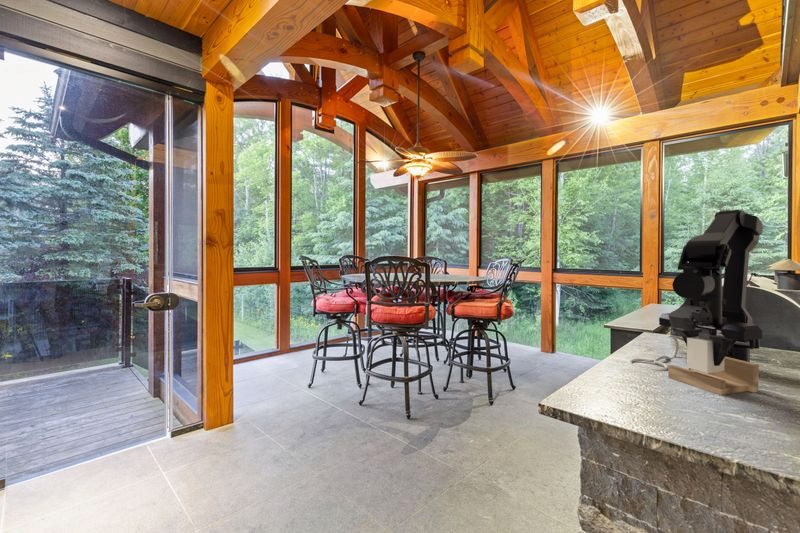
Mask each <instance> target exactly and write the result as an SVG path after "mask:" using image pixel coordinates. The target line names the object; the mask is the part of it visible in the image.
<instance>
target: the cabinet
mask: <svg viewBox="0 0 800 533" xmlns="http://www.w3.org/2000/svg"><path fill="white" fill-rule="evenodd" d="M709 336H712V334H709V333H706V332H702V333H699V336H698V337H689V338H687V346H686V361H687V362H686V369H687V368H688V369H689V368H691V369H694V370H698V371H701V372H704V373H713V372H720V371H724V359H723V361H722V362H721V364H720V365H719V366H715V365H714V359H713V341H712V340H711V339H710V337H709Z"/></svg>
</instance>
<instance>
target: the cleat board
mask: <svg viewBox="0 0 800 533" xmlns="http://www.w3.org/2000/svg"><path fill="white" fill-rule="evenodd" d="M667 365H668V364H667ZM759 365H760V364H758V363H755V362H754V363H753V362H751V361H750V362H746V361H742V360H738V359H734V358H729V357H725V358H724V371H720V372H713V373H704V372H701V371H698V370H694V369H691V368H688V369H687V368H683V367H681V366H678V365H674V364H670V365H668V370H667V371H668V372H667V373H668V374H667V375H668V376H667V377H668V379H672V380H675V381H679V382H680V383H684V384H687V385H690V386H693V387H696V388H699V389H702V390H705V391H707V392H711V393H714V394H717V395H719V396H725V395H729V394H735V393H736V394H737V393H743V392H749V393H759V385H760V384H759V380H760V379H759V375H760V374H759V369H760V368H759Z"/></svg>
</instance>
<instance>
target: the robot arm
mask: <svg viewBox="0 0 800 533" xmlns="http://www.w3.org/2000/svg"><path fill="white" fill-rule="evenodd" d="M763 226H764V225H763V223H762V221H761V219H760V218H759V217H758V216H756V215H752V214H749V213H746V212H745V211H744V210H743V209H739V208H738V209H729V210H728V209H727V210H720V211H716V212H715V215H714V219H713V220H712V222H711V223H710V224H709V225H708V226H707V228H706V230H705V231H704V233H703V234H700V235H697V236H694V237H692V238H690V239H689V240H688V241H686V244H684V246H683V248H682V251H681V254H680V258H679V261H678V264H677V270H679V271H682V272H681V273H679V274H677V275H676V276H675V277H674V278H673V281H672V289H673V291H674V293H675V294H676V295H677V296H679V297H681V298H683V299H684V303H683V304H684V305H683V306H682V307H679V308H676V309H675V310H673V311H671V312H667V313H662V314H661V315H660V316H659V317H658V325H660V326H662V327H668V328H672V329H671V330H672V332H673V331H674V332H676V333H677V334H678V335H680V336H681V337H682V340H683V341H684V343H685V345H686V347H687V338H689V337H698V336H699V333H703V329H704V330H708V331H709V332H708V334H712V336H709V337H710V339H711V340H712V341H713V359H714V365H715V366H719V365H720V364H721V362H722V361H723V359H724V358H725V357H729V358H734V359H738V360H742V361H746V362H750V363H751V361H750V360H751V356H750V355H751V353H750V352H751V350H755V349H756V350H758V349H760V347H761V346H760V345H761V344H760V343H761V342H760V340H761V339H763V330H762V329H761V326H759V325H758V324H754V323H753V321H754V320H753V317H752V316H751V314H750V312H748V310H747V309H746V302H747V299H746V298H747V288H748V274H749V273H748V272H749V263H750V262H749V259H750V253H751V252H752V250H753V249H755V247H756V246H757V245H758V244H759V240H760V236H762V234H763V230H764V229H763ZM723 271H724V272H723ZM722 273H723V274H722Z"/></svg>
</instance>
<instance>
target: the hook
mask: <svg viewBox="0 0 800 533" xmlns="http://www.w3.org/2000/svg"><path fill="white" fill-rule="evenodd" d="M667 338H672V339H673V340H674V349H673V350H674V351H673V354H672V355H671V356H667V355H660V356H657V357H656V358H653V359H649V358H643V357H642V358H641V357H640V358H637V357H636V358H631V359H630V360H628V365H630V366H632V367H633V366H634V367H636V366H637V367H636V368H641V369H645V368H646V370H649V369H650V370H649V371H657V372H665V371H668V364H667V363H665V362H662V361H660V360H662V359H665V360H672V359H675V358H676V357H677V355H678V352H679V341H678V338H677V336H676V335H673V334H669V335H668V336H667ZM634 362H645V363H650V364H651V363H654V364H655V365H659V366H663V368H650V367H647V366H642V365H637V364H635V363H634Z"/></svg>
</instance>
